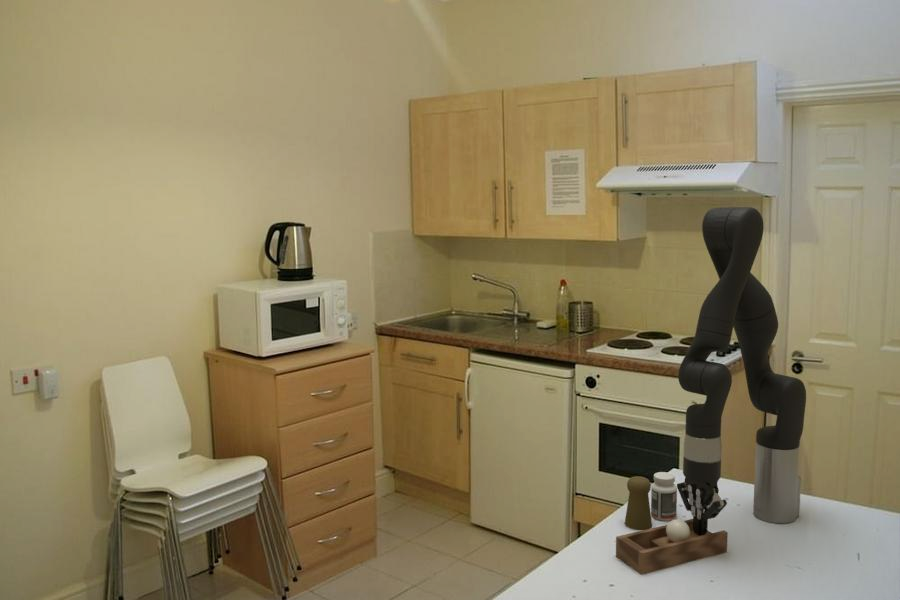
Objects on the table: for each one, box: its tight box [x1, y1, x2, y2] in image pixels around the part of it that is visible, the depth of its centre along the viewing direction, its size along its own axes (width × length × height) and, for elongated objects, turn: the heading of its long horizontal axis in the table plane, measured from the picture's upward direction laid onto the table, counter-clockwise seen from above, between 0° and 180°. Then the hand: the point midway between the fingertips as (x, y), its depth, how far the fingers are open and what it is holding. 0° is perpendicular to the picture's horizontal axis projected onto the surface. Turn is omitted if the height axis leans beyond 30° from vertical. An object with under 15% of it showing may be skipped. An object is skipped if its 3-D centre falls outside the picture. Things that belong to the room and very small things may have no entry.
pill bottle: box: [650, 471, 678, 522], centre depth 182 cm, size 6×6×10 cm
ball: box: [666, 518, 690, 542], centre depth 164 cm, size 5×5×5 cm
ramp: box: [615, 518, 729, 575], centre depth 163 cm, size 22×8×4 cm, turn 114°
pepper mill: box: [624, 475, 653, 531], centre depth 178 cm, size 6×6×11 cm
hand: (699, 533), depth 166 cm, fingers closed
